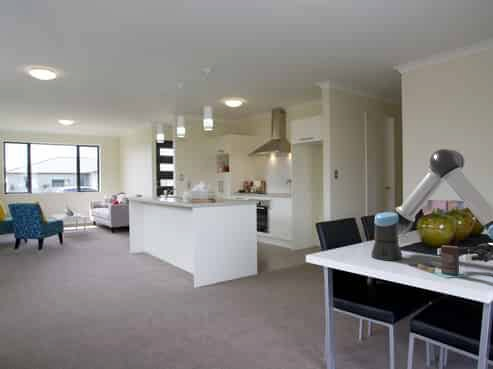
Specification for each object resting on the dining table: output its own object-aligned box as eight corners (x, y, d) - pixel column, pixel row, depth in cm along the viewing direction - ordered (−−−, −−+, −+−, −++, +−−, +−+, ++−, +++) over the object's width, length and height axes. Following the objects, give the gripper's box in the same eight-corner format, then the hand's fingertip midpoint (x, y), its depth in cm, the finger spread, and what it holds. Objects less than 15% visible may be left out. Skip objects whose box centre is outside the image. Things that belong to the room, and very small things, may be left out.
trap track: (408, 265, 165) (408, 261, 165) (427, 263, 168) (427, 259, 168) (432, 273, 150) (432, 269, 150) (453, 271, 153) (453, 267, 153)
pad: (432, 273, 150) (432, 272, 150) (453, 271, 153) (453, 270, 153) (446, 278, 143) (446, 277, 143) (467, 276, 146) (467, 275, 146)
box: (459, 274, 148) (459, 246, 148) (456, 276, 145) (456, 248, 144) (443, 271, 152) (443, 244, 152) (440, 273, 149) (440, 246, 149)
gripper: (517, 267, 141) (476, 271, 135) (465, 254, 165) (428, 257, 160) (518, 249, 141) (476, 252, 135) (465, 238, 165) (428, 241, 159)
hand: (450, 254), depth 147 cm, fingers open, 13 cm apart
